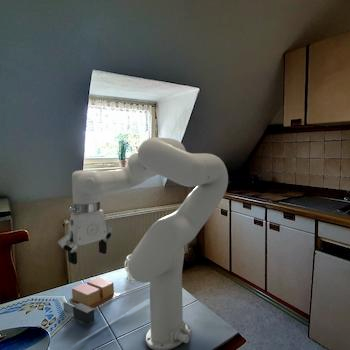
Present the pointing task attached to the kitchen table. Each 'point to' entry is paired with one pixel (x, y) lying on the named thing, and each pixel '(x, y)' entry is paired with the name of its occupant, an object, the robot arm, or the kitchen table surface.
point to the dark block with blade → (80, 312)
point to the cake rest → (102, 286)
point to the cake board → (99, 301)
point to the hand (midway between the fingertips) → (88, 257)
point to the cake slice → (86, 294)
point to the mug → (128, 269)
